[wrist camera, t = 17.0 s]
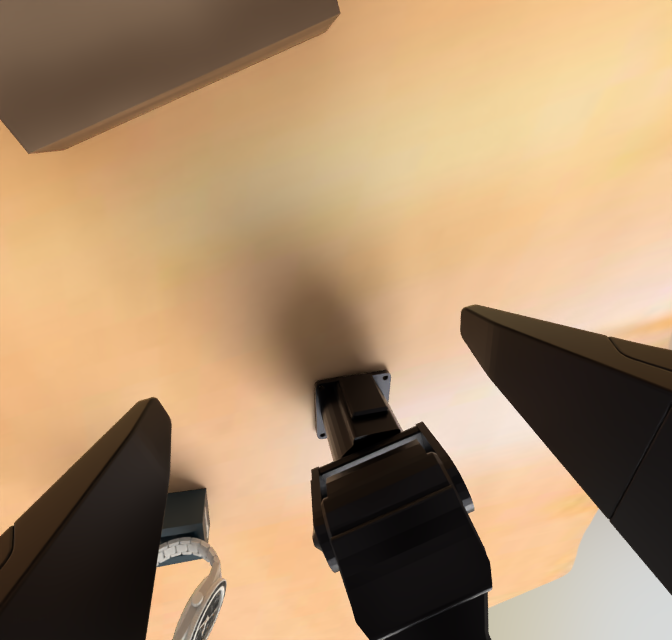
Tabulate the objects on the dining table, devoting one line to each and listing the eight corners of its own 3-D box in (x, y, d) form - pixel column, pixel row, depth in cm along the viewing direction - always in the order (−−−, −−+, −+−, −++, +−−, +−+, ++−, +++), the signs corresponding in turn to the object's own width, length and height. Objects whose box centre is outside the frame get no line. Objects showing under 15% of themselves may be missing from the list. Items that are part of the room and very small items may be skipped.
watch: (230, 520, 33) (225, 671, 24) (141, 534, 31) (96, 707, 22) (228, 484, 30) (221, 639, 21) (131, 497, 28) (75, 676, 19)
